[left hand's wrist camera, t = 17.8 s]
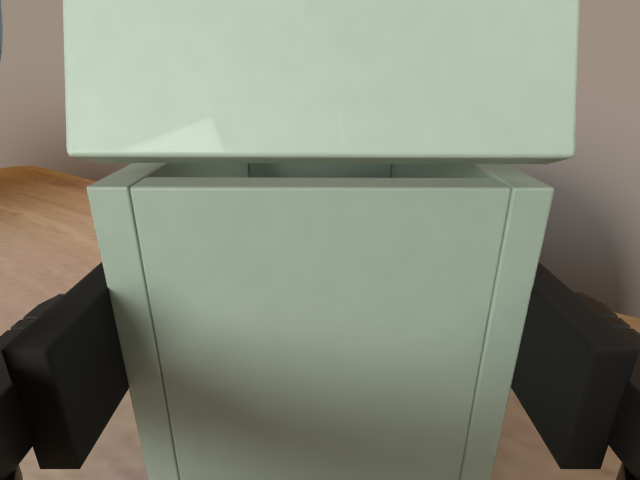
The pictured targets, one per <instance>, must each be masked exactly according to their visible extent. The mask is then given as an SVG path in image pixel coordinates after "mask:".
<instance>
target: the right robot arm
mask: <svg viewBox="0 0 640 480" xmlns="http://www.w3.org/2000/svg"><path fill="white" fill-rule="evenodd" d="M1 52H2V11H1V1H0V60H1Z"/></svg>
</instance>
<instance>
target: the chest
mask: <svg viewBox="0 0 640 480" xmlns="http://www.w3.org/2000/svg"><path fill="white" fill-rule="evenodd" d="M87 193H88V198H89V202H90V207H91V212H92V216H93V221H94V226H95V231H96V235H97V240H98V245H99V249H100V254H101V259H102V264H103V268H104V273H105V278H106V282H107V287H108V290H109V295H110V299H111V304H112V309H113V313H114V318H115V323H116V327H117V332H118V337H119V341H120V346H121V351H122V355H123V360H124V365H125V369H126V374H127V378H128V383H129V391H130V395H131V400H132V405H133V409H134V414H135V419H136V424H137V428H138V433H139V438H140V442H141V447H142V452H143V457H144V461H145V466H146V471H147V475H148V480H491V476H492V471H493V467H494V462H495V458H496V453H497V448H498V444H499V439H500V435H501V430H502V426H503V421H504V417H505V412H506V407H507V403H508V398H509V394H510V389H511V384H512V379H513V375H514V370H515V366H516V361H517V356H518V352H519V347H520V342H521V338H522V333H523V329H524V324H525V319H526V315H527V310H528V305H529V301H530V296H531V292H532V287H533V284H534V280H535V275H536V271H537V266H538V262H539V257H540V252H541V248H542V243H543V239H544V234H545V230H546V225H547V220H548V216H549V211H550V207H551V202H552V198H553V193H554V189H553V188H552V187H550V186H548V185H546V184H544V183H543V182H541V181H539V180H537V179H535V178H533V177H531V176H529V175H527V174H525V173H523V172H522V171H520V170H518V169H516V168H514V167H512V166H510V165H508V164H326V163H132V164H130V165H128V166H126V167H124V168H122V169H120V170H119V171H117V172H115V173H113V174H111V175H109V176H107V177H105V178H103V179H101V180H99V181H97V182H95V183H94V184H92V185H90V186H88V187H87Z"/></svg>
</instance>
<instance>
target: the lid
mask: <svg viewBox="0 0 640 480" xmlns="http://www.w3.org/2000/svg"><path fill="white" fill-rule="evenodd" d="M579 1H580V0H63V23H64V60H65V98H66V134H67V153H68V155H69V156H71V157H73V158H77V159H81V160H85V161H89V162H93V163H326V164H549V163H553V162H558V161H562V160H566V159H569V158H572V157H573V156H574V152H575V124H576V93H577V62H578V31H579Z"/></svg>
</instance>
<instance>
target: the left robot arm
mask: <svg viewBox="0 0 640 480" xmlns="http://www.w3.org/2000/svg"><path fill="white" fill-rule="evenodd" d="M23 318H24V319H23V320H20V321H18V322H17V323H16V324H15V325H13V326H12V327H11V330H7V331H6V332H5V333H4V334H3V335H1V336H0V480H23V477H22V472H21V470H20V467H19V463H20V462H21V461H22V459H23V458H24V457H25V455H26V454H27V453H28V451H29V450H30V449H31V448H32V446H33V449H34V452H35V455H36V458H37V461H38V464H39V467H40V469H80V468H81V466H82V465H83V463H84V461H85V460H86V458H87V456H88V455H89V453H90V451H91V450H92V448H93V446H94V445H95V443H96V441H97V440H98V438H99V436H100V435H101V433H102V431H103V430H104V428H105V427H106V425H107V423H108V422H109V420H110V418H111V417H112V415H113V413H114V412H115V410H116V408H117V407H118V405H119V403H120V402H121V400H122V398H123V397H124V395H125V393H126V392H127V390H128V389H129V383H128V378H127V374H126V369H125V365H124V360H123V355H122V351H121V346H120V341H119V337H118V332H117V327H116V323H115V318H114V313H113V309H112V304H111V299H110V295H109V290H108V287H107V282H106V278H105V273H104V268H103V264H102V262H101V263H100V264H99V265H98V266H97V267H96V268H95V269H93V270H92V271H91V272H90V273H89V274H88V275H87V276H85V277H84V278H83V279H82V280H81V281H80V282H79V283H77V284H76V285H75V286H74V287H73V288H72V289H70V290H69V291H68V292H67V293H66V294H59V295H57V296H55V297H53V298H51V299H49V300H47V301H45V302H43V303H41V304H39V305H38V306H36V307H35V308H34V309H33V310H32V311H30V312H29V313H28V314H27V315H26V316H24V317H23ZM511 388H512V389H513V391H514V393H515V394H516V396H517V398H518V399H519V401H520V403H521V404H522V406H523V408H524V409H525V411H526V413H527V414H528V416H529V418H530V419H531V421H532V422H533V424H534V426H535V427H536V429H537V431H538V432H539V434H540V436H541V437H542V439H543V441H544V442H545V444H546V446H547V447H548V449H549V451H550V452H551V454H552V455H553V457H554V459H555V460H556V462H557V464H558V465H559V467H560V469H600V468H601V465H602V462H603V459H604V456H605V453H606V450H607V447H608V445H609V446H610V447H611V448H612V450H613V451H614V452H615V454H616V455H617V456H618V458H619V459H620V460H621V461H622V464H621V467H620V470H619V472H618V475H617V478H616V480H640V334H639V333H638V332H637V331H636V330H634V329H631V328H630V326H629V325H628V324H627V323H626V322H625V321H623V320H622V319H621V318H618V316H617V315H616V314H615V313H614V312H612V311H611V310H610V309H609V308H608V307H606V306H605V305H604V304H603V303H601V302H599V301H597V300H595V299H593V298H591V297H589V296H587V295H585V294H583V293H573V292H572V291H571V290H570V289H569V288H568V287H567V286H565V285H564V284H563V283H562V282H561V281H560V280H559V279H557V278H556V277H555V276H554V275H553V274H552V273H550V272H549V271H548V270H547V269H546V268H545V267H544V266H542V265H541V264H540V263H539V262H538V266H537V271H536V275H535V280H534V284H533V287H532V292H531V296H530V301H529V305H528V310H527V315H526V319H525V324H524V329H523V333H522V338H521V342H520V347H519V352H518V356H517V361H516V366H515V370H514V375H513V379H512V384H511Z"/></svg>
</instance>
